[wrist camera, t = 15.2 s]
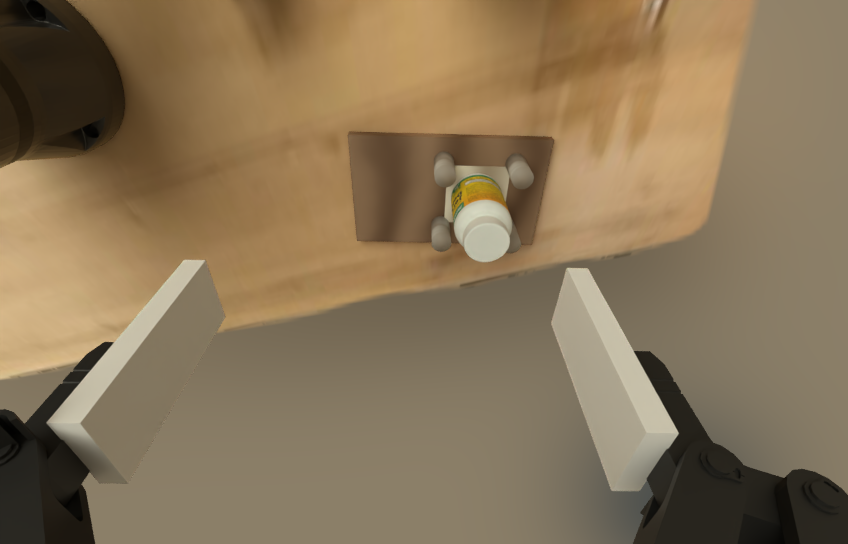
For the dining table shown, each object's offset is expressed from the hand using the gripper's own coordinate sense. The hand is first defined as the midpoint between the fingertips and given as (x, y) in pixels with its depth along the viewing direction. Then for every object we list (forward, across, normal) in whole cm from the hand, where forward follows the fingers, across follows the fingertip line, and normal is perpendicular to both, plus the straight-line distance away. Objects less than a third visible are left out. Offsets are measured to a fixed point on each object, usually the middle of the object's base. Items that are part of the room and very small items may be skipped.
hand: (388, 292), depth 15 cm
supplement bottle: (+28, +7, -9) cm, 30 cm away
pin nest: (+29, +4, -9) cm, 30 cm away
